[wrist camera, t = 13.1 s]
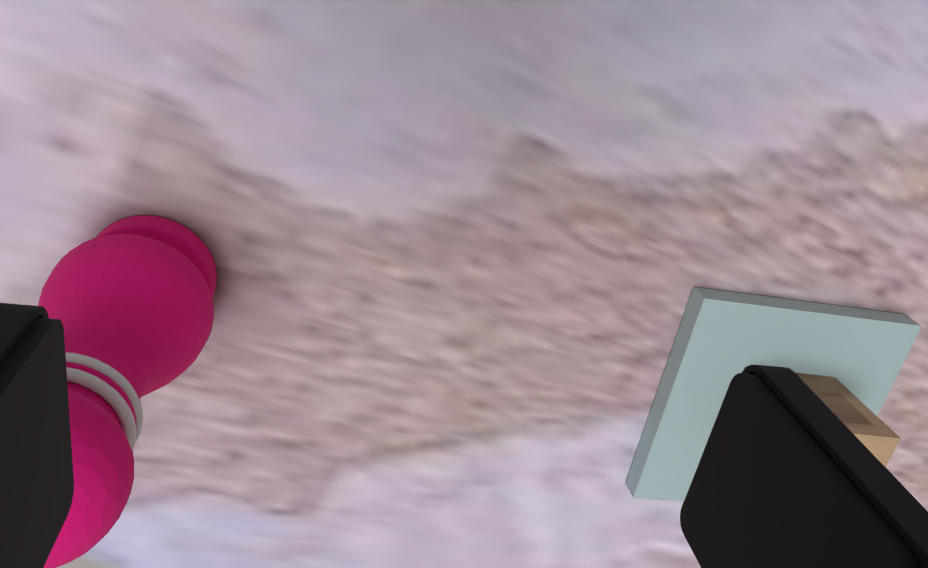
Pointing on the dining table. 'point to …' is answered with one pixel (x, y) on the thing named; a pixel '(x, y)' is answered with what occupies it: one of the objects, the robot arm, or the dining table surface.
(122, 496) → the pepper mill
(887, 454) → the light brown wooden cube
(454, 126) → the dining table surface
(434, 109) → the dining table surface
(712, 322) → the shaft base
